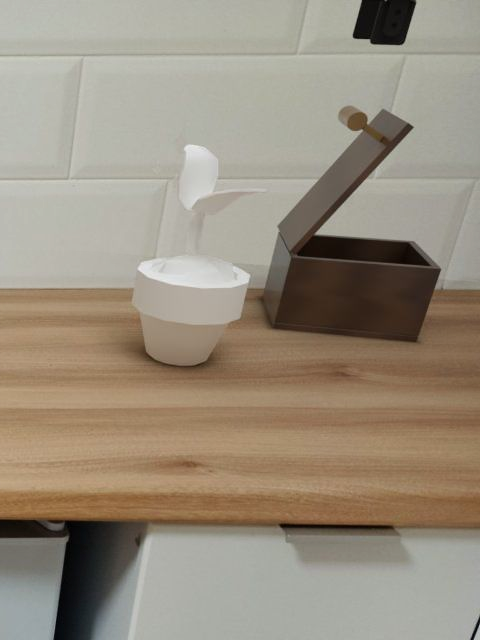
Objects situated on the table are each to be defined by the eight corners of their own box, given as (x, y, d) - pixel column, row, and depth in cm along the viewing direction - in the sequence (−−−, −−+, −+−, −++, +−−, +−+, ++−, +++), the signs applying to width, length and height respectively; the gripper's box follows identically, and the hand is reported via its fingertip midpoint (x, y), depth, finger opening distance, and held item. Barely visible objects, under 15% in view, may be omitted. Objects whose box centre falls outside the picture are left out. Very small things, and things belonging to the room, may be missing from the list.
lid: (388, 112, 105) (352, 86, 105) (414, 127, 94) (374, 99, 94) (281, 229, 114) (248, 206, 114) (294, 255, 103) (258, 229, 103)
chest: (392, 309, 114) (414, 241, 110) (416, 342, 104) (441, 268, 100) (262, 297, 118) (278, 231, 114) (272, 329, 108) (291, 257, 104)
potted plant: (101, 345, 103) (137, 114, 90) (184, 334, 106) (230, 109, 94) (172, 387, 93) (224, 132, 80) (261, 372, 96) (324, 126, 84)
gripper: (501, -162, 80) (436, 48, 89) (448, -141, 95) (396, 38, 103) (408, -160, 82) (353, 46, 91) (370, -140, 96) (326, 36, 105)
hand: (376, 41), depth 97 cm, fingers open, 9 cm apart
